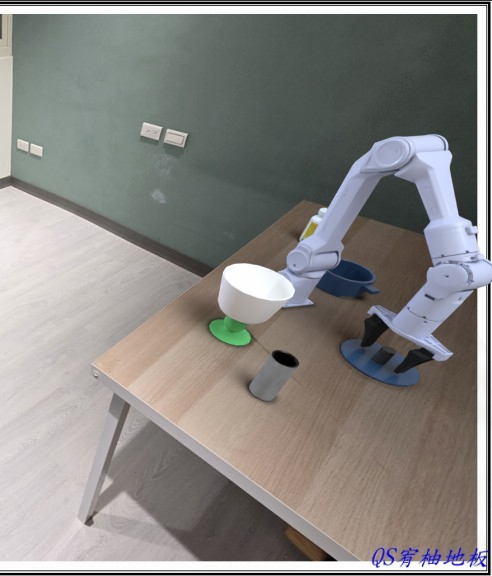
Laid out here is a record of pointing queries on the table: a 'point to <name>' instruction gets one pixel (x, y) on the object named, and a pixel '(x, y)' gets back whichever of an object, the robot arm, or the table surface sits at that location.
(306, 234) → the pill bottle
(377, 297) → the table surface
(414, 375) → the lid
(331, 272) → the pan
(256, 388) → the planter
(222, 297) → the cup
